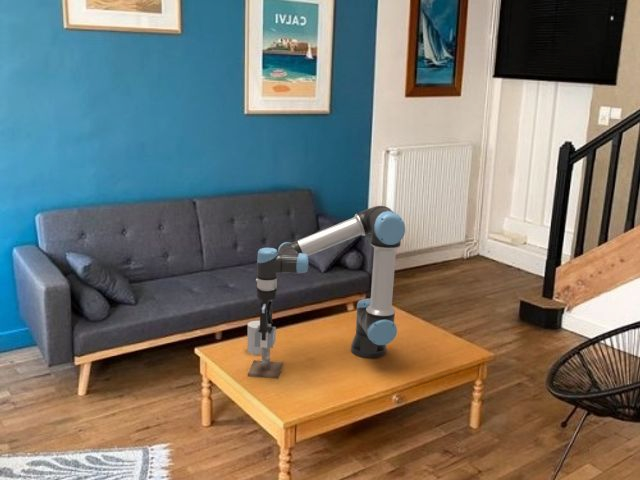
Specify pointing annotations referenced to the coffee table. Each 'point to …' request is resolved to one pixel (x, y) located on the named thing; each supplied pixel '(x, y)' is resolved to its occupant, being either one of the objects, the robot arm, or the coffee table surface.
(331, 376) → the coffee table surface
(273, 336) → the collar
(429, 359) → the coffee table surface
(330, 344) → the coffee table surface
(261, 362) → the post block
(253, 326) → the gold-veined taupe cylinder
